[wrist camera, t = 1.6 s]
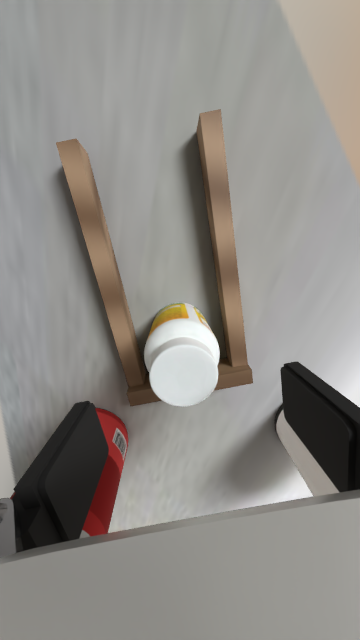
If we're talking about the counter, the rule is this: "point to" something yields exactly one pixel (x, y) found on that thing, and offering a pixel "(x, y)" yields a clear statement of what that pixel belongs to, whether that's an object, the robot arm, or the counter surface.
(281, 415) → the mug
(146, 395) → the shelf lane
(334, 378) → the counter surface
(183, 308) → the supplement bottle
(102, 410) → the canned food
